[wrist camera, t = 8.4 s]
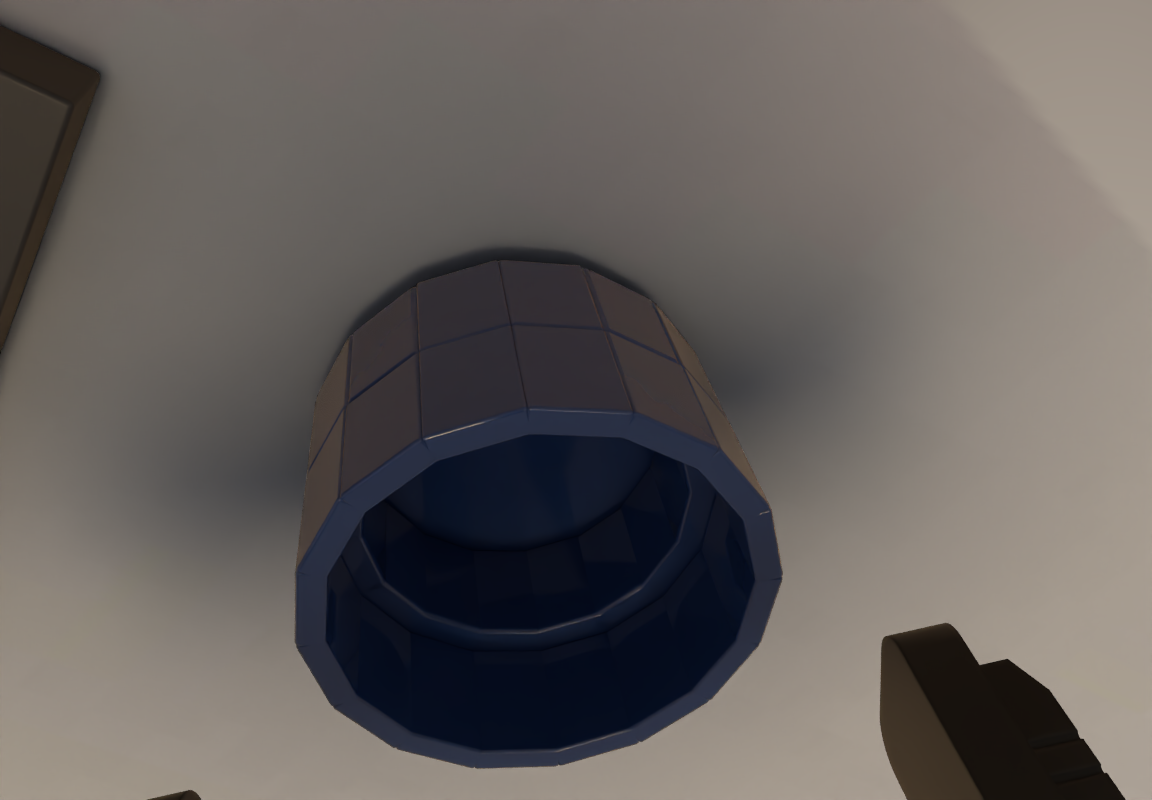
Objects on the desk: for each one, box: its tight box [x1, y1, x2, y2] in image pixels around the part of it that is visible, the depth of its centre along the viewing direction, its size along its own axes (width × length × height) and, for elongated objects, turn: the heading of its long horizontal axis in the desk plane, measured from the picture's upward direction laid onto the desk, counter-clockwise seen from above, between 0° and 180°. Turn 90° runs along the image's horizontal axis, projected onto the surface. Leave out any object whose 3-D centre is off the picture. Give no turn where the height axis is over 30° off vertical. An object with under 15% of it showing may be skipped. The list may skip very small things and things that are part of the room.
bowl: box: [295, 260, 783, 769], centre depth 15 cm, size 6×6×4 cm
